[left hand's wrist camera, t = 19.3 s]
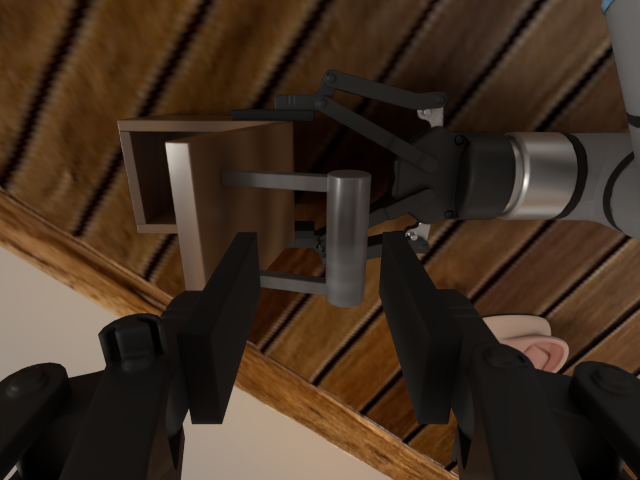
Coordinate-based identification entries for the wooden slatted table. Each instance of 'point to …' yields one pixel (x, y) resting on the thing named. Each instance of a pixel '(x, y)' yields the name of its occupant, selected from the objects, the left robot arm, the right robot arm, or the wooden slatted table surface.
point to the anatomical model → (530, 339)
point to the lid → (264, 208)
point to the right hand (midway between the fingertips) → (239, 175)
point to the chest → (164, 161)
